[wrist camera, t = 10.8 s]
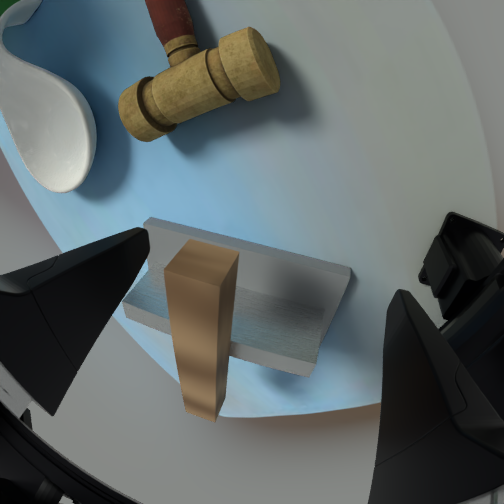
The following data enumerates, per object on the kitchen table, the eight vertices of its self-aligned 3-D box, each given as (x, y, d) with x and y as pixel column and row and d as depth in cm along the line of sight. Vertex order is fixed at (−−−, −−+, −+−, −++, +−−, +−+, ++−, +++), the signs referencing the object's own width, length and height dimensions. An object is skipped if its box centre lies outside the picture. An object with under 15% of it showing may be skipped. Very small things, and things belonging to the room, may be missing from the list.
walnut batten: (225, 397, 26) (215, 422, 24) (197, 387, 27) (185, 411, 24) (239, 252, 16) (219, 286, 13) (189, 238, 16) (163, 269, 14)
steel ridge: (324, 309, 24) (316, 364, 20) (318, 324, 25) (308, 377, 21) (155, 261, 27) (121, 301, 22) (157, 277, 28) (126, 317, 23)
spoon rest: (135, 151, 22) (76, 183, 17) (70, 195, 28) (24, 226, 22) (62, -27, 12) (8, -28, 7) (11, 41, 18) (-35, 52, 12)
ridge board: (350, 267, 23) (350, 277, 22) (318, 343, 28) (317, 352, 27) (150, 217, 25) (143, 223, 25) (158, 295, 31) (153, 302, 30)
